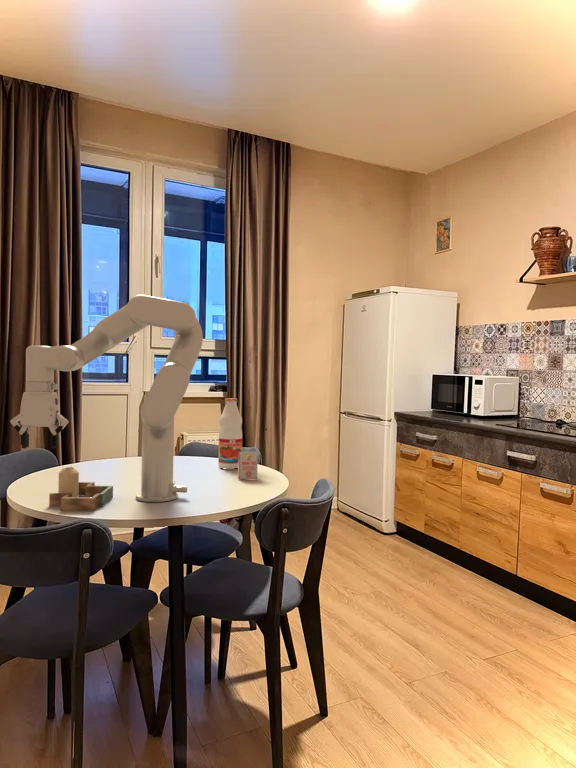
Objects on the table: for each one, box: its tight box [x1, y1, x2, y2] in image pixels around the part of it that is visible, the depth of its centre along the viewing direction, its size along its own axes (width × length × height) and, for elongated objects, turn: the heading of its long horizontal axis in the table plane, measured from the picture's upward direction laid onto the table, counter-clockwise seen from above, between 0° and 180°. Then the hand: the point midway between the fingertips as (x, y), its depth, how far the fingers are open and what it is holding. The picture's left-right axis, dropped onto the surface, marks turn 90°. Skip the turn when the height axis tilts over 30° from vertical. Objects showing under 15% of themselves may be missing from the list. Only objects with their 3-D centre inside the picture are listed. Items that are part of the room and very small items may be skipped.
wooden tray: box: [48, 481, 114, 512], centre depth 160 cm, size 16×21×4 cm
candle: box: [57, 466, 80, 497], centre depth 160 cm, size 6×6×10 cm
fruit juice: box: [217, 397, 243, 470], centre depth 218 cm, size 9×9×28 cm
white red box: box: [237, 451, 258, 480], centre depth 197 cm, size 4×7×10 cm, turn 100°
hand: (39, 447), depth 159 cm, fingers open, 7 cm apart
